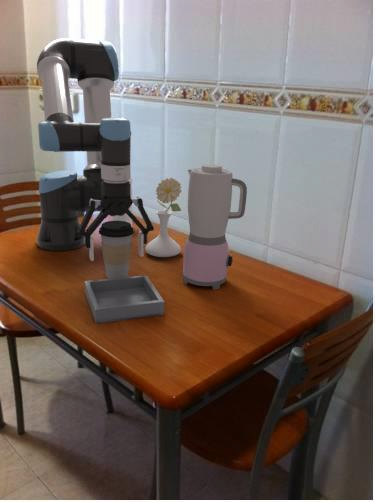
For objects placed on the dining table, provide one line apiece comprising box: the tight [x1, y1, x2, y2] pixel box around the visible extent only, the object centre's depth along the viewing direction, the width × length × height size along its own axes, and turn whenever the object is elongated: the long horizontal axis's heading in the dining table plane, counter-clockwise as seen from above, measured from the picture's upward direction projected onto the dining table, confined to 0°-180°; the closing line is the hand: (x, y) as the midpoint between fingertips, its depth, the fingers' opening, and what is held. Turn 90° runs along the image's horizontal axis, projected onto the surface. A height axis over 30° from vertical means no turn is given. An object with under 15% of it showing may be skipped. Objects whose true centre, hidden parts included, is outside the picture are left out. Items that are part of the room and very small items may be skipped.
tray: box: [84, 274, 165, 324], centre depth 112 cm, size 16×16×4 cm
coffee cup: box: [98, 220, 135, 279], centre depth 125 cm, size 9×9×15 cm
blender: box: [182, 163, 248, 290], centre depth 122 cm, size 16×12×32 cm
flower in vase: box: [144, 177, 182, 258], centre depth 141 cm, size 13×11×25 cm
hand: (116, 257), depth 126 cm, fingers open, 13 cm apart
